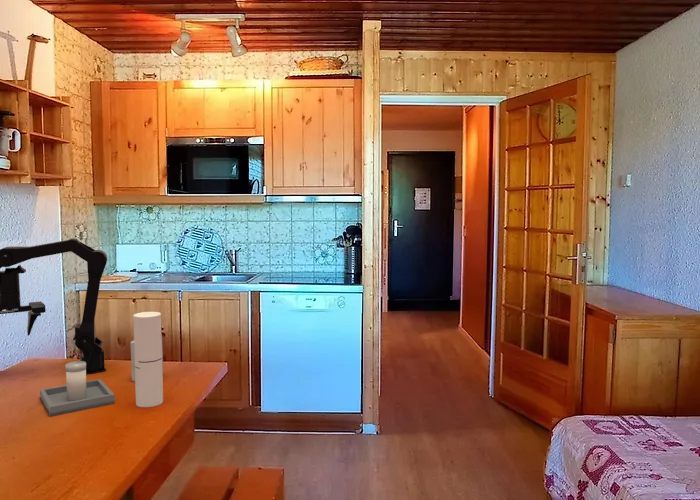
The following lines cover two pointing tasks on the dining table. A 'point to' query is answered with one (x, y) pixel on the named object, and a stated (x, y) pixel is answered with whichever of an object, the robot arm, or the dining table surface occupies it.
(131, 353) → the supplement box
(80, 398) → the shaker
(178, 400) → the dining table surface
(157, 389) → the cylindrical container
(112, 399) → the tray
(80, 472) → the dining table surface
